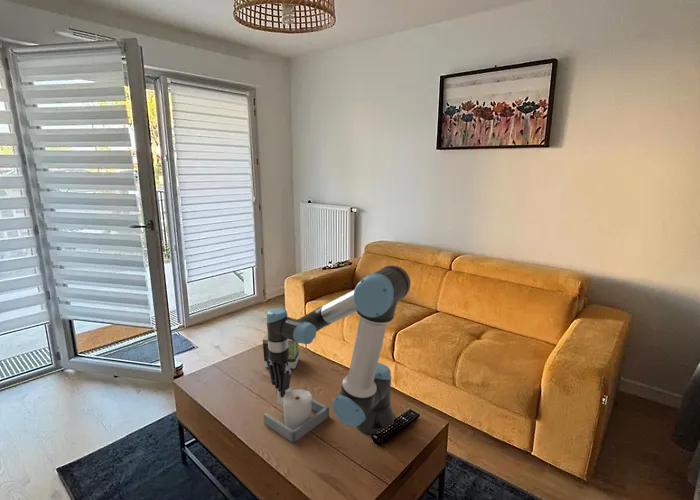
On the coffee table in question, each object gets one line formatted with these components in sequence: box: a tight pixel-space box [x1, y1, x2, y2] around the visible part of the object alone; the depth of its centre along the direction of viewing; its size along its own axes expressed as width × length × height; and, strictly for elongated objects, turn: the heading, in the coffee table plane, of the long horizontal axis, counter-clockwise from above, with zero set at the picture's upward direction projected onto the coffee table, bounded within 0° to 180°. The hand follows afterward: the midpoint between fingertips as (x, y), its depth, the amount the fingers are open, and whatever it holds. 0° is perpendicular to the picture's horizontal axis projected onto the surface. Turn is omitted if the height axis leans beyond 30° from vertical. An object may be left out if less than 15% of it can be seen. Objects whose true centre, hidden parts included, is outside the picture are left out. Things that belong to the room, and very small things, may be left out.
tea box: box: [262, 332, 300, 370], centre depth 187 cm, size 15×10×15 cm, turn 84°
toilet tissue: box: [282, 386, 313, 430], centre depth 147 cm, size 11×12×10 cm
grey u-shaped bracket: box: [263, 398, 330, 444], centre depth 148 cm, size 16×18×4 cm
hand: (281, 402), depth 153 cm, fingers closed
